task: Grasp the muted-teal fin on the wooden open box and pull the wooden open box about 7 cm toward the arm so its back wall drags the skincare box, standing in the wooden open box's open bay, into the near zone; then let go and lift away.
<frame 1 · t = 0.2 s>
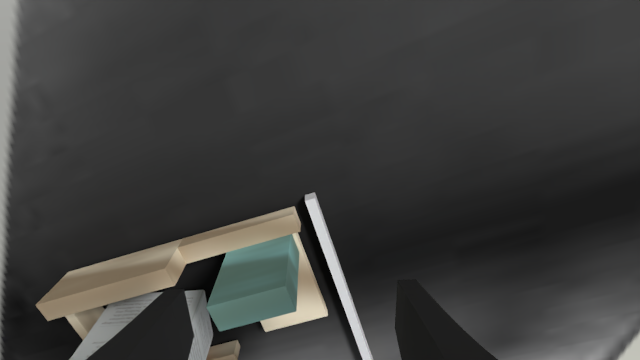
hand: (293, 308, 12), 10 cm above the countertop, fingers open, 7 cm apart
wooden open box: (196, 329, 22), point 3 cm above the countertop, slide at 0.0 cm
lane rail: (348, 301, 25), on the countertop
skincare box: (169, 312, 25), resting in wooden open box
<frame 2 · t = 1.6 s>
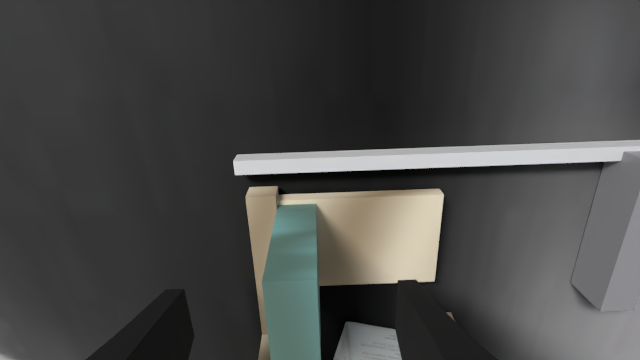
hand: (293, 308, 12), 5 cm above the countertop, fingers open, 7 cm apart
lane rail: (441, 154, 15), on the countertop
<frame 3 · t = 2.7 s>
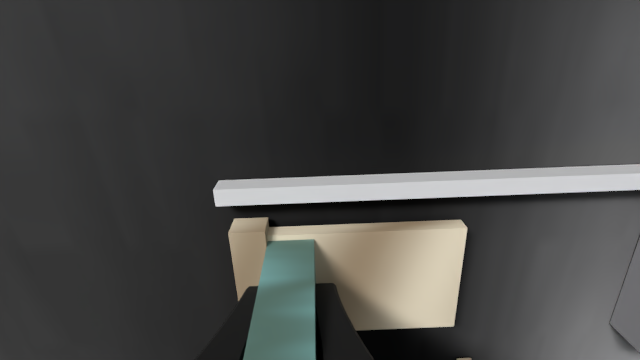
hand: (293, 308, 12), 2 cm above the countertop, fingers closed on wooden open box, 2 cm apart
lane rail: (463, 178, 13), on the countertop
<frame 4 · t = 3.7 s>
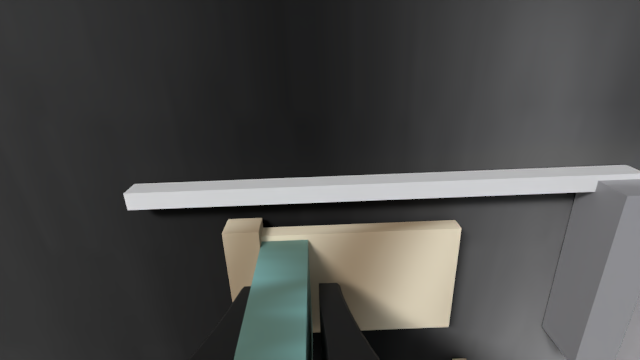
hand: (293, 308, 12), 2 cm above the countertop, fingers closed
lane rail: (380, 182, 13), on the countertop
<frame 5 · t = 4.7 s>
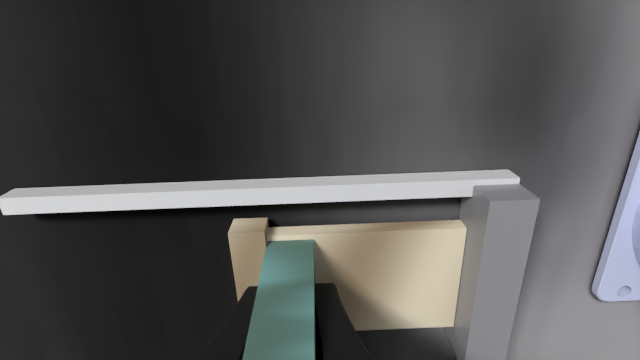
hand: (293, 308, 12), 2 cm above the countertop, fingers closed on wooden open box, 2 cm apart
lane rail: (263, 186, 13), on the countertop
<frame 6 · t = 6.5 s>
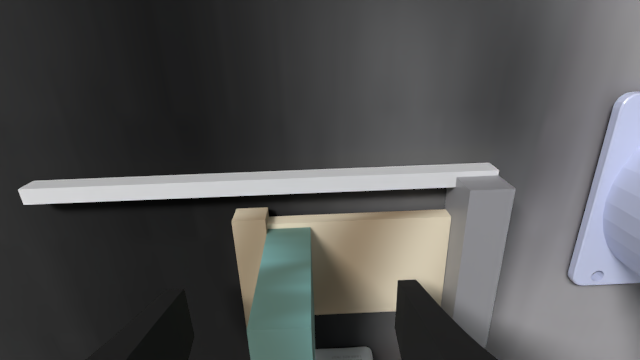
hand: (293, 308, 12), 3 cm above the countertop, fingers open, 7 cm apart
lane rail: (263, 179, 14), on the countertop
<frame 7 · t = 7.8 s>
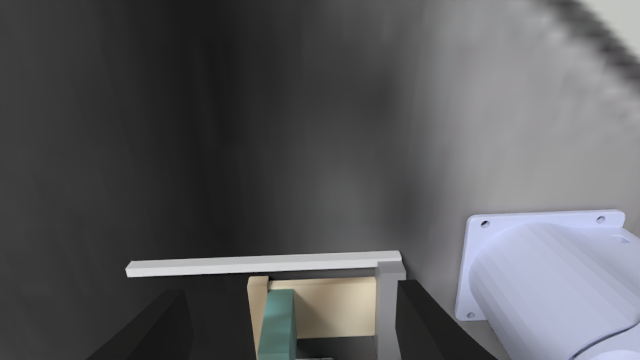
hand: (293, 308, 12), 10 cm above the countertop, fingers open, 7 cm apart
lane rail: (265, 259, 23), on the countertop
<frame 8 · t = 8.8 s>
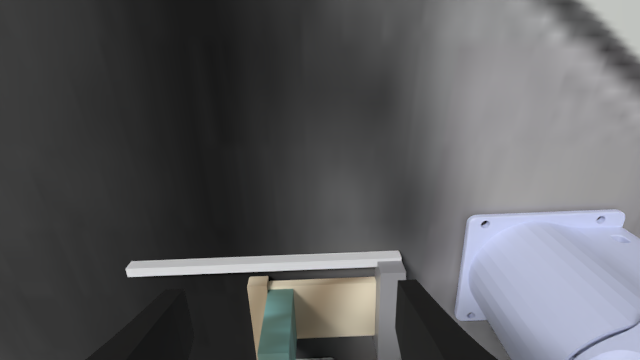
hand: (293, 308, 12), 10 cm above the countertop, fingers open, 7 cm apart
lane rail: (265, 259, 23), on the countertop
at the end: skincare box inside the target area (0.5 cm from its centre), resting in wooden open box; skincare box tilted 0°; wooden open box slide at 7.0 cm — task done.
